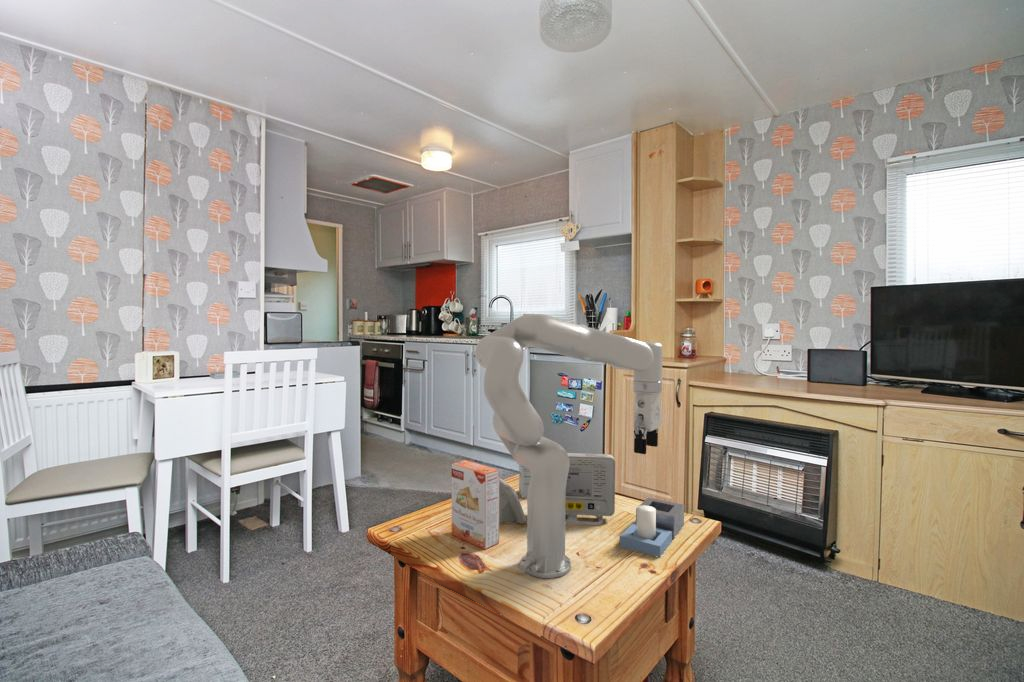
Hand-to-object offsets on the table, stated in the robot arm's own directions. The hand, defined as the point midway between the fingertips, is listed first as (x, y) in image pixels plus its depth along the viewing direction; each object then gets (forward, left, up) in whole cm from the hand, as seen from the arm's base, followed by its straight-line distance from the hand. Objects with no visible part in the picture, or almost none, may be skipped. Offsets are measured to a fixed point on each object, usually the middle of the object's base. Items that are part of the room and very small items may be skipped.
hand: (646, 449), depth 135 cm
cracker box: (-24, +41, -27) cm, 54 cm away
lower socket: (0, 0, -26) cm, 26 cm away
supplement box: (+16, +47, -27) cm, 56 cm away
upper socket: (+13, 0, -26) cm, 29 cm away
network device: (+5, +25, -27) cm, 37 cm away
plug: (0, 0, -26) cm, 26 cm away
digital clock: (-5, +42, -27) cm, 50 cm away
